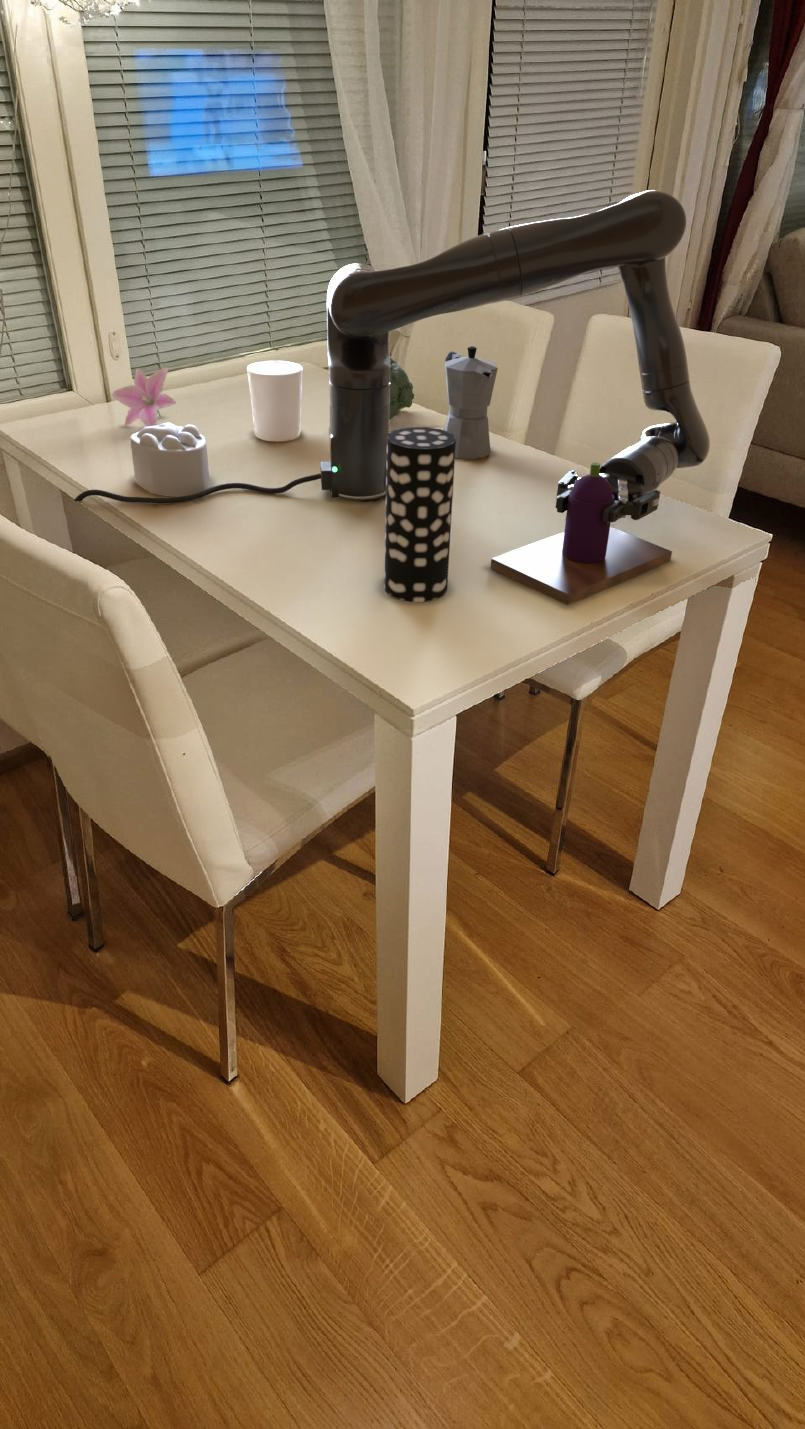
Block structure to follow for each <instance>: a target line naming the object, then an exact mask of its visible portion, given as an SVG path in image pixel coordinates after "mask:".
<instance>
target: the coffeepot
mask: <svg viewBox="0 0 805 1429" xmlns="http://www.w3.org/2000/svg"><path fill="white" fill-rule="evenodd" d="M477 349H478V347H477V346H473V345H471V346H467V356H466V357H465V356H464V355H462V354H460V353H457V352H456V351H453V350H451V351H449V352H448V354H447V355H446V356H445V359H444V368H445V369H444V370H445V380H446V391H447V403H448V405H449V406H448V407H449V410H448V413H447V416H446V420H445V425H444V429H443V430H444V431H447V432H449V433H451V434H453V435H454V436H455V438H456V446H455V459H459V460H477V459H482V458H485V457H488V456H489V455H490V454H491V453H492V452H491V440H490V427H489V417H488V408H489V407H490V405H491V401H492V397H493V391H494V388H495V383H496V378H497V374H498V365H497V364H496V362H495V361H491V360H486V359H483V358H478V357H476V353H477Z"/></svg>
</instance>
